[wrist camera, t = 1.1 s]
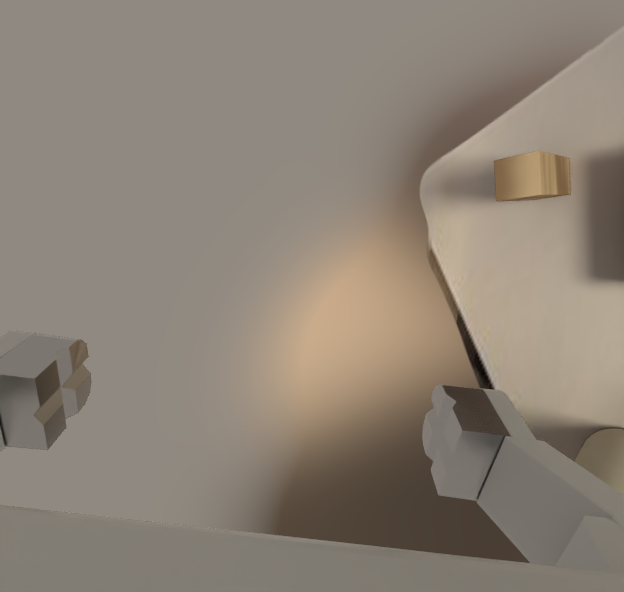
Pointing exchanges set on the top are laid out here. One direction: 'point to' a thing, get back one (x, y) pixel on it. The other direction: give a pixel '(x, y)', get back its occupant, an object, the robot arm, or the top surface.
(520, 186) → the pin
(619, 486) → the travel mug
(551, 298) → the top surface
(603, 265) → the top surface
